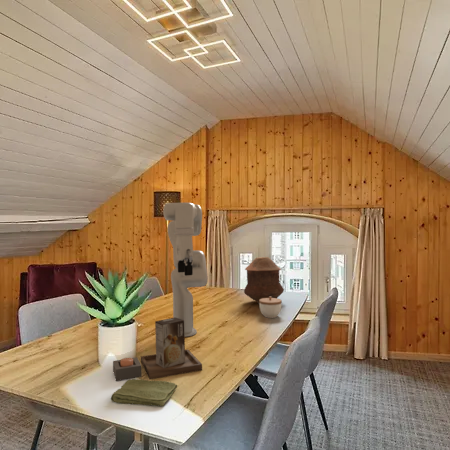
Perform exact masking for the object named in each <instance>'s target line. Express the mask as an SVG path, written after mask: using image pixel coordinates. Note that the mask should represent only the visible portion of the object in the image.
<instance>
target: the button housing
mask: <svg viewBox="0 0 450 450" xmlns="http://www.w3.org/2000/svg"><path fill="white" fill-rule="evenodd" d="M132 358H133V365H131V366H125V367H121V364H120V361H121V359H117V360H113V361H112V372H114V373H113V376H114V380H115V379H116V380H115V381H116V382H120V381H128V380H131V379H139V378H142V375H143V374H142V373H143V372H142V364H141V361H140V360H139V359H138V357H137V356H136V357H132Z"/></svg>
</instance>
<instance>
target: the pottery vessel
mask: <svg viewBox="0 0 450 450" xmlns="http://www.w3.org/2000/svg"><path fill="white" fill-rule="evenodd" d="M244 270H245V271H246V278H247V279H246V280H247V281H246V282H247V283H246V284H245V287H244V290H243V293H244V295H246V296H247V297H248V298H250V299H252V300H253V301H255V302H257V303H256V304H258V305H259V300H260V299H262V298H269V297H270V296H271V298H277V299H279V297H280V296H281V295H282V294H283V293H284V291H285V289H284V288H283V286H282V284H281V283H280V271H281V270H282V269H281V267H279V266H278V265H277V263H275V262H274V261H273V260H272V259H271V258H270V257H269V256H260V257H256V258H254V260H252V261H251V262H250V264H249V265H247V266H246V267H245V268H244Z"/></svg>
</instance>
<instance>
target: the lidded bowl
mask: <svg viewBox="0 0 450 450" xmlns="http://www.w3.org/2000/svg"><path fill="white" fill-rule="evenodd" d="M258 305H259V311H260V313H261V314H262V315H263V317H265V318H269V319H272V318H273V319H274V318H277V317H278V316H279V315H280V313H281V311H282V299H281V298H271V296H270V297H269V298H262V299H260V300H259V304H258Z"/></svg>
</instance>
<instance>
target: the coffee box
mask: <svg viewBox="0 0 450 450" xmlns="http://www.w3.org/2000/svg"><path fill="white" fill-rule="evenodd" d="M154 324H155V325H154V326H155V328H154V329H155V354H156V364H158V365H159V366H161V367H163V368H167V367H171V366H174V365H178V364H181V363H185V350H186V347H185V346H186V344H185V339H186V337H184V320H182V319H179V318H176V317H175V318H173V317H170V318H165V319H161V320H155V322H154Z"/></svg>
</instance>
